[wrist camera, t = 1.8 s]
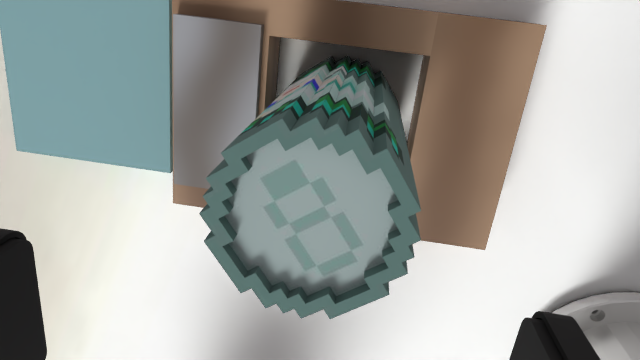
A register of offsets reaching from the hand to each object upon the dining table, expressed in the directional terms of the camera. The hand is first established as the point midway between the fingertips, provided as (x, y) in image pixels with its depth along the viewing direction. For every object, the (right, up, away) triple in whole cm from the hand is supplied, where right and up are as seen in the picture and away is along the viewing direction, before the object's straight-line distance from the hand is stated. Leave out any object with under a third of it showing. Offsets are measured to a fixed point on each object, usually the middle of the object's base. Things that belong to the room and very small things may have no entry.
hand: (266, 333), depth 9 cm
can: (+2, +7, +19) cm, 20 cm away
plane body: (+2, +7, +18) cm, 20 cm away
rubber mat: (-12, +9, +19) cm, 25 cm away
